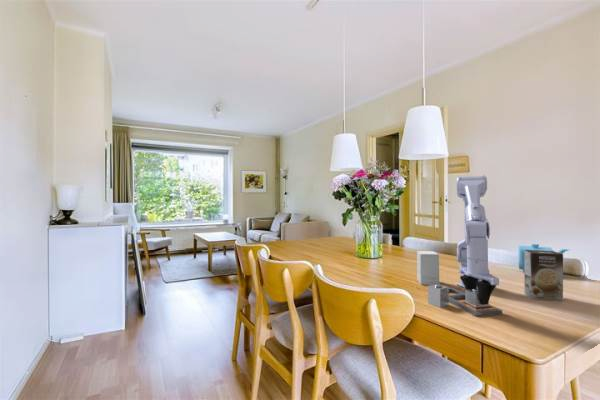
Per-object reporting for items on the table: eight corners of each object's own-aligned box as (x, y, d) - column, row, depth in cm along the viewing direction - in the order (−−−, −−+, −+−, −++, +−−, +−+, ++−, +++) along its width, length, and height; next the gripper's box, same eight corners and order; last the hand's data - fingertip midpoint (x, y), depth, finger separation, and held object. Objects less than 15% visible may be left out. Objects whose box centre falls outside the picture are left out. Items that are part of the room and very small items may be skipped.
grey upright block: (436, 300, 102) (436, 282, 102) (448, 304, 98) (448, 285, 98) (428, 303, 100) (427, 284, 100) (440, 307, 96) (439, 287, 96)
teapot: (519, 273, 134) (519, 245, 133) (518, 266, 146) (518, 240, 146) (573, 279, 123) (572, 248, 123) (566, 271, 136) (566, 243, 136)
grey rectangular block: (477, 306, 96) (477, 287, 96) (488, 312, 92) (488, 291, 91) (465, 307, 95) (465, 287, 95) (475, 313, 91) (475, 292, 91)
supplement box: (439, 285, 119) (439, 254, 119) (420, 284, 120) (419, 254, 120) (435, 280, 126) (434, 251, 126) (417, 279, 128) (416, 250, 128)
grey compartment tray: (451, 290, 112) (451, 286, 112) (502, 313, 90) (502, 309, 90) (430, 292, 111) (430, 288, 111) (476, 316, 88) (475, 311, 88)
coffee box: (531, 299, 102) (530, 252, 101) (523, 293, 108) (523, 249, 108) (564, 301, 99) (563, 254, 98) (554, 295, 105) (554, 250, 105)
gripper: (450, 254, 100) (451, 294, 100) (483, 264, 85) (484, 310, 86) (469, 253, 101) (469, 293, 101) (505, 263, 87) (505, 308, 87)
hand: (477, 301), depth 93 cm, fingers open, 5 cm apart
